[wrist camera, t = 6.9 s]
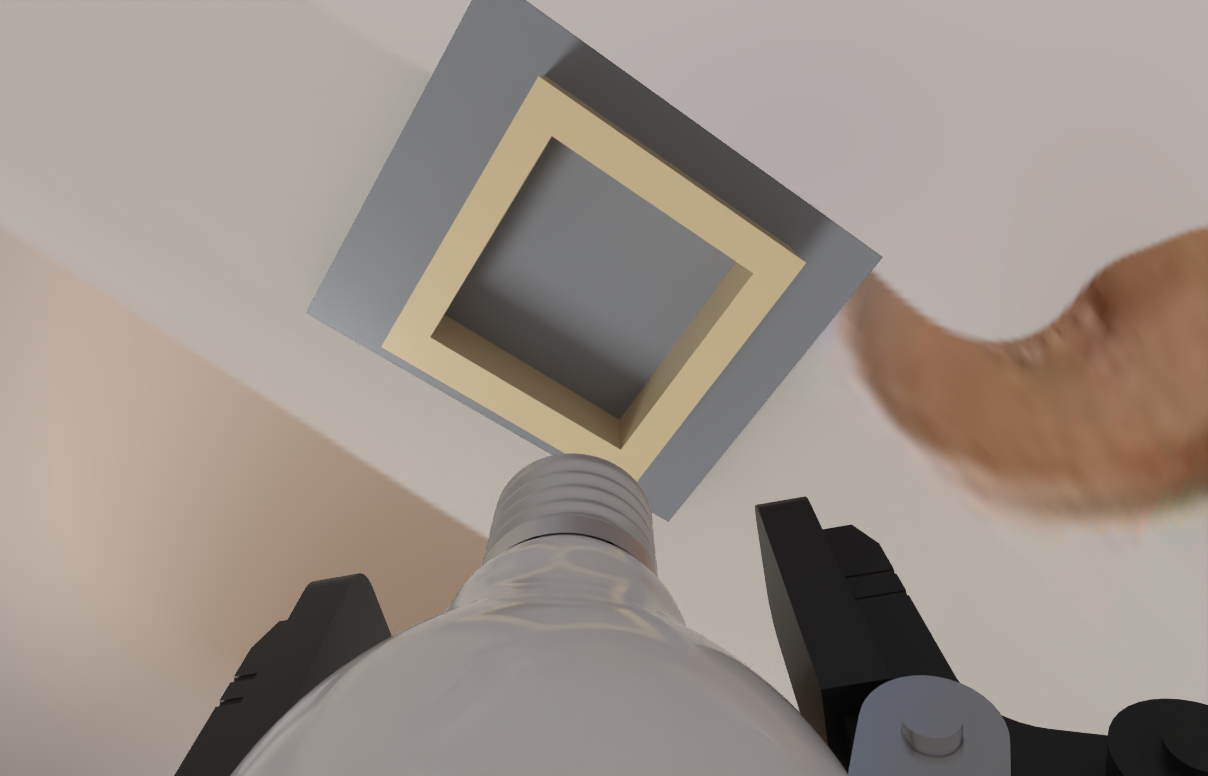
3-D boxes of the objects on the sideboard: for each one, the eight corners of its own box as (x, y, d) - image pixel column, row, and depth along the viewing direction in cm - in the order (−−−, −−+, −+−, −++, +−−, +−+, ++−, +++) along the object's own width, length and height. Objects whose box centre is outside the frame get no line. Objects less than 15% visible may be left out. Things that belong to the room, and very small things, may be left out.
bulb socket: (319, 301, 29) (278, 335, 25) (493, -23, 25) (474, -38, 21) (665, 502, 33) (673, 558, 29) (868, 247, 28) (908, 275, 25)
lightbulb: (685, 674, 15) (841, 1885, 5) (367, 598, 15) (-178, 1823, 4) (809, 393, 13) (1557, 1603, 3) (437, 287, 12) (-393, 1384, 2)
